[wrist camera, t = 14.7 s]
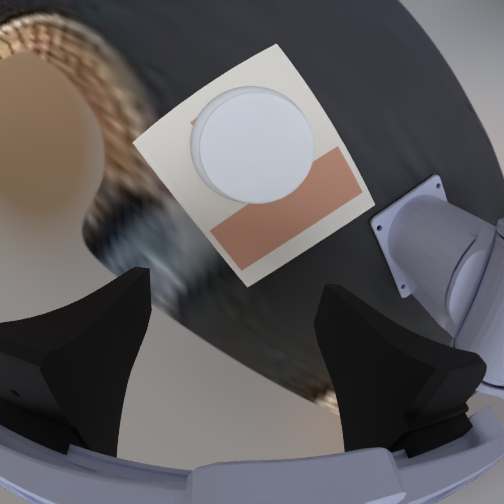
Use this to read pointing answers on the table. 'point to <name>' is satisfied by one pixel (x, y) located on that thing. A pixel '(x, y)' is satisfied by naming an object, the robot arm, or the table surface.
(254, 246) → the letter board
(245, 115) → the supplement bottle
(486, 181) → the table surface
